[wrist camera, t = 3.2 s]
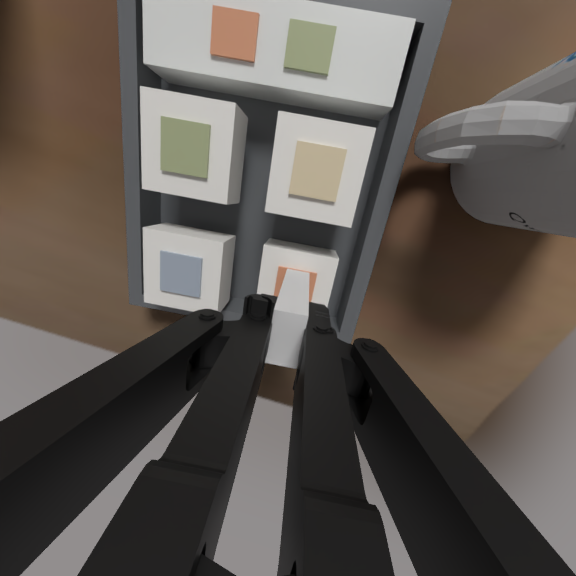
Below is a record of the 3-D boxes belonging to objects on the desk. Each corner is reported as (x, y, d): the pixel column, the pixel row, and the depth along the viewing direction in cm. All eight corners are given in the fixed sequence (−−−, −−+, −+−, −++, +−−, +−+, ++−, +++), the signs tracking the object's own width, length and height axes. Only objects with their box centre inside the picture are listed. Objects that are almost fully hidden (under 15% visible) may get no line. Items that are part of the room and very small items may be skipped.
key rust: (261, 298, 22) (253, 314, 19) (269, 237, 20) (263, 245, 17) (321, 310, 21) (322, 327, 19) (335, 250, 20) (339, 259, 17)
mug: (626, 102, 16) (1070, -27, 7) (542, 239, 19) (768, 283, 10) (433, 45, 16) (609, -171, 6) (379, 192, 19) (447, 189, 9)
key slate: (165, 288, 20) (142, 303, 17) (166, 222, 19) (140, 227, 16) (229, 300, 20) (215, 317, 17) (236, 235, 18) (222, 243, 16)
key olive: (166, 189, 18) (139, 188, 15) (167, 103, 16) (137, 84, 13) (239, 203, 18) (225, 204, 15) (248, 117, 16) (234, 101, 13)
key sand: (271, 209, 18) (264, 211, 15) (283, 124, 16) (277, 109, 13) (345, 222, 18) (351, 228, 15) (365, 138, 16) (377, 127, 13)
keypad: (151, 290, 23) (125, 306, 20) (149, -13, 16) (109, -64, 13) (344, 327, 23) (350, 349, 19) (426, 35, 16) (456, -6, 13)
